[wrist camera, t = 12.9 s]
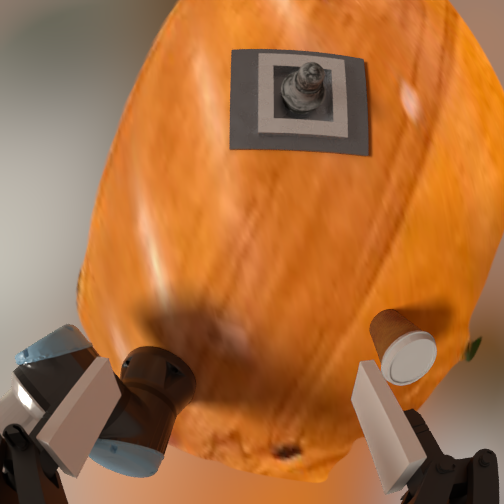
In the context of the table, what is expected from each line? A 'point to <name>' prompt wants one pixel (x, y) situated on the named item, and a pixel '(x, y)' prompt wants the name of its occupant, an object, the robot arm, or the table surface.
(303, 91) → the dark grey chess piece
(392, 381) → the disposable coffee cup
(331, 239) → the table surface
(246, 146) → the collar plate
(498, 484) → the robot arm
